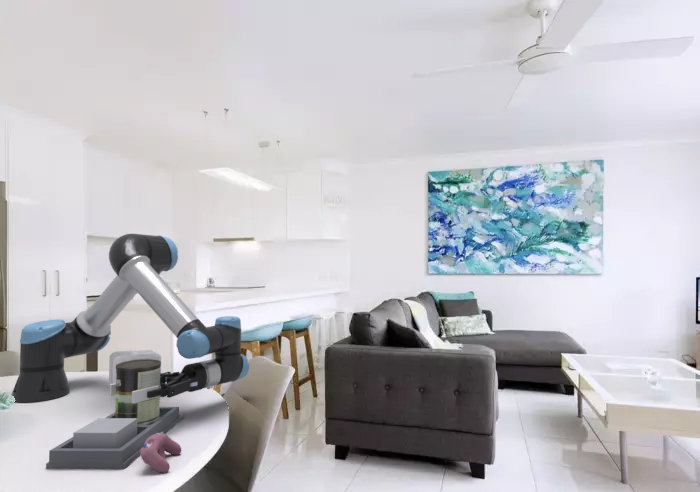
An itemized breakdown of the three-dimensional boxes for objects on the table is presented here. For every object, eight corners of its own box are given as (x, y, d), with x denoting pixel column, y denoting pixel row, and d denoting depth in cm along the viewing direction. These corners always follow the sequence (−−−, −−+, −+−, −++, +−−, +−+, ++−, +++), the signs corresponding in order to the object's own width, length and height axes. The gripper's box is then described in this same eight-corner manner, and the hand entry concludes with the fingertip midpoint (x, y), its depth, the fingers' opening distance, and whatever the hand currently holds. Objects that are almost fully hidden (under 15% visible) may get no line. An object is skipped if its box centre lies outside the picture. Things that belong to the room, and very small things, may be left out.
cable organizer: (155, 379, 161) (156, 347, 162) (161, 386, 152) (161, 352, 153) (108, 386, 153) (109, 352, 154) (111, 393, 144) (112, 357, 145)
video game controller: (164, 461, 96) (150, 432, 96) (184, 450, 97) (169, 422, 97) (148, 483, 86) (132, 451, 86) (170, 471, 87) (154, 439, 87)
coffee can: (112, 430, 104) (113, 369, 104) (116, 417, 113) (117, 361, 114) (160, 424, 108) (161, 365, 108) (160, 411, 117) (161, 357, 118)
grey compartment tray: (45, 468, 89) (46, 438, 90) (125, 417, 120) (125, 395, 120) (124, 468, 89) (125, 438, 89) (183, 417, 119) (184, 395, 120)
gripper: (225, 395, 118) (145, 418, 101) (176, 383, 132) (98, 401, 114) (225, 367, 119) (146, 385, 101) (177, 357, 132) (99, 371, 114)
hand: (121, 393), depth 107 cm, fingers closed on coffee can, 10 cm apart
